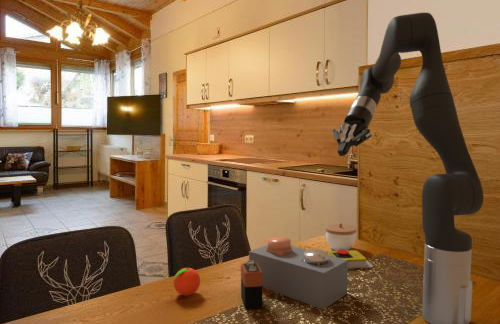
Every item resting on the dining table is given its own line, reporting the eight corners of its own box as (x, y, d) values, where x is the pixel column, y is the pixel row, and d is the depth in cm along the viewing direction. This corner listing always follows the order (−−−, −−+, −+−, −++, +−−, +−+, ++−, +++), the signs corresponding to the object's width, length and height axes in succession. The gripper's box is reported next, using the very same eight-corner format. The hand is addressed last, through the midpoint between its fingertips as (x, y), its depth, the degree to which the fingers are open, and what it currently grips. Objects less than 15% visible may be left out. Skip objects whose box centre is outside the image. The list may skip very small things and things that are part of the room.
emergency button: (319, 247, 125) (362, 246, 127) (319, 260, 126) (362, 258, 127) (327, 256, 116) (374, 255, 117) (327, 270, 116) (373, 268, 118)
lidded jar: (339, 255, 129) (339, 228, 128) (319, 247, 139) (319, 222, 138) (361, 250, 134) (362, 224, 134) (341, 242, 144) (341, 218, 143)
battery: (257, 296, 97) (257, 258, 96) (262, 308, 90) (263, 268, 90) (240, 297, 96) (240, 259, 95) (245, 310, 90) (245, 269, 89)
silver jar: (332, 286, 98) (333, 252, 98) (319, 294, 94) (320, 259, 93) (311, 280, 103) (312, 247, 102) (298, 287, 98) (298, 253, 97)
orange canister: (294, 270, 106) (295, 239, 106) (281, 277, 102) (281, 244, 101) (277, 265, 111) (277, 235, 110) (263, 271, 106) (263, 240, 105)
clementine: (181, 304, 93) (181, 276, 92) (164, 296, 97) (164, 269, 97) (205, 293, 99) (205, 267, 98) (188, 286, 103) (188, 261, 103)
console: (347, 293, 99) (347, 260, 98) (323, 309, 90) (323, 273, 89) (275, 270, 115) (275, 242, 114) (249, 282, 106) (249, 251, 105)
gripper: (337, 105, 121) (316, 144, 113) (377, 103, 112) (358, 146, 104) (345, 122, 125) (325, 161, 117) (384, 122, 116) (366, 163, 108)
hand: (341, 154), depth 111 cm, fingers closed
